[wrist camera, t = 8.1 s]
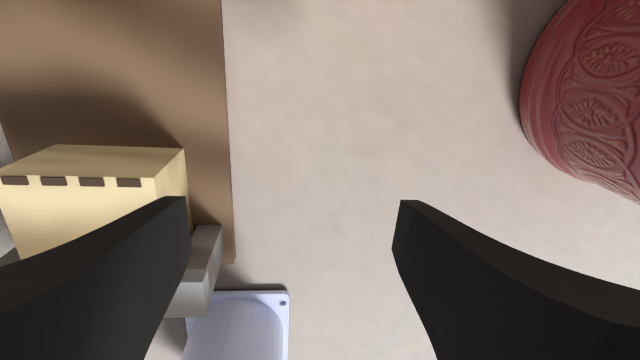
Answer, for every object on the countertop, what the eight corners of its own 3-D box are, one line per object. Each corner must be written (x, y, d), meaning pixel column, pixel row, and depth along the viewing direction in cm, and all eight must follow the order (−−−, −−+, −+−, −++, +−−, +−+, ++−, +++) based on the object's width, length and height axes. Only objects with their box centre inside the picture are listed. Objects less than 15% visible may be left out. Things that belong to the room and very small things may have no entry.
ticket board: (235, 256, 23) (217, 327, 17) (58, 257, 22) (-24, 333, 16) (219, -36, 16) (178, -81, 10) (-48, -61, 14) (-269, -128, 9)
